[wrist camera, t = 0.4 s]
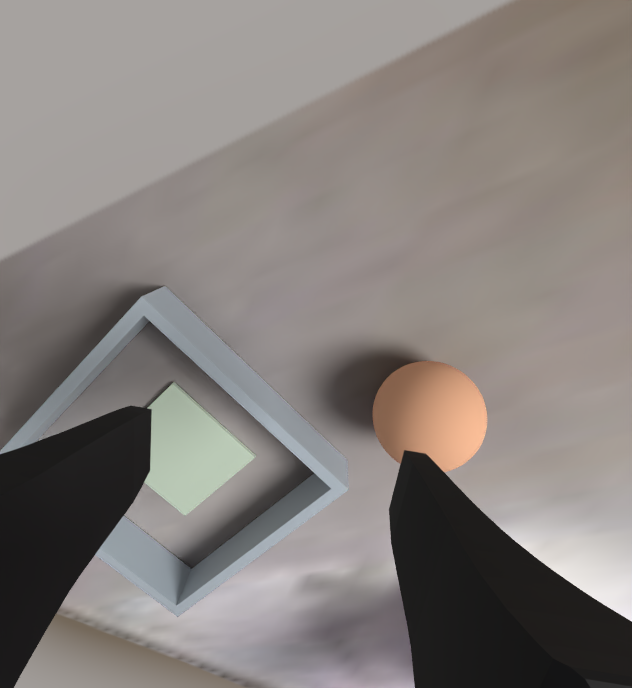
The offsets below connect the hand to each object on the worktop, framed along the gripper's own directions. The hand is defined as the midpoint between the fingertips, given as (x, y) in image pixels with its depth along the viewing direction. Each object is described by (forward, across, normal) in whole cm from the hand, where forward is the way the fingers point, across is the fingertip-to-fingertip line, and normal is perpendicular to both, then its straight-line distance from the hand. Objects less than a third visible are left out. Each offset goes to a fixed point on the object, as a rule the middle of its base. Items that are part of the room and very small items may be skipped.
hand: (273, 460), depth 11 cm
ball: (+10, -6, +1) cm, 12 cm away
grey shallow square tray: (+10, +6, +7) cm, 13 cm away
